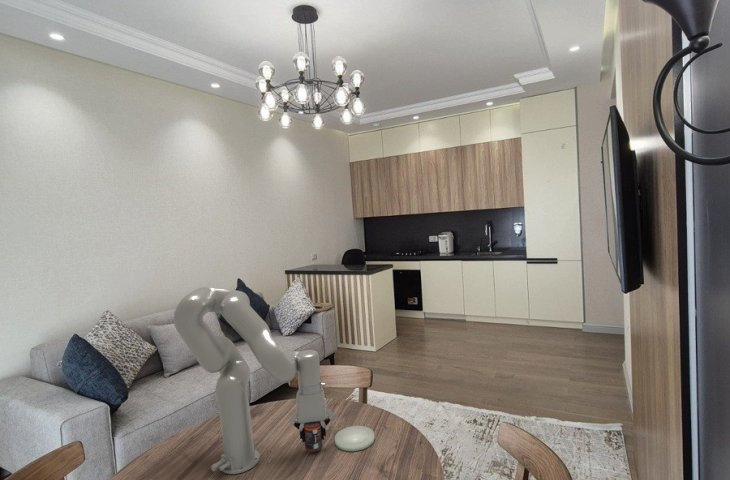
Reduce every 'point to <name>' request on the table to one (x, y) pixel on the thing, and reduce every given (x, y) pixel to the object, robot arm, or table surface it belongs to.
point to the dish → (354, 438)
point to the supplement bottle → (313, 436)
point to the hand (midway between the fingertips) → (313, 438)
